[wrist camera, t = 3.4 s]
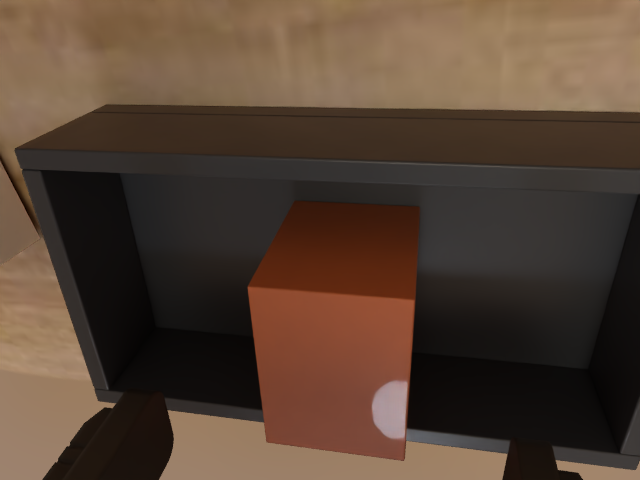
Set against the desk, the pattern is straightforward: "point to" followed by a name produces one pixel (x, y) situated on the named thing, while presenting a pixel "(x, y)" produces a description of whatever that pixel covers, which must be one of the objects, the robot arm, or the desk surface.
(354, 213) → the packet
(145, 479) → the robot arm
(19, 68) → the desk surface
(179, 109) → the bin
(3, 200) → the box
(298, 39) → the desk surface
